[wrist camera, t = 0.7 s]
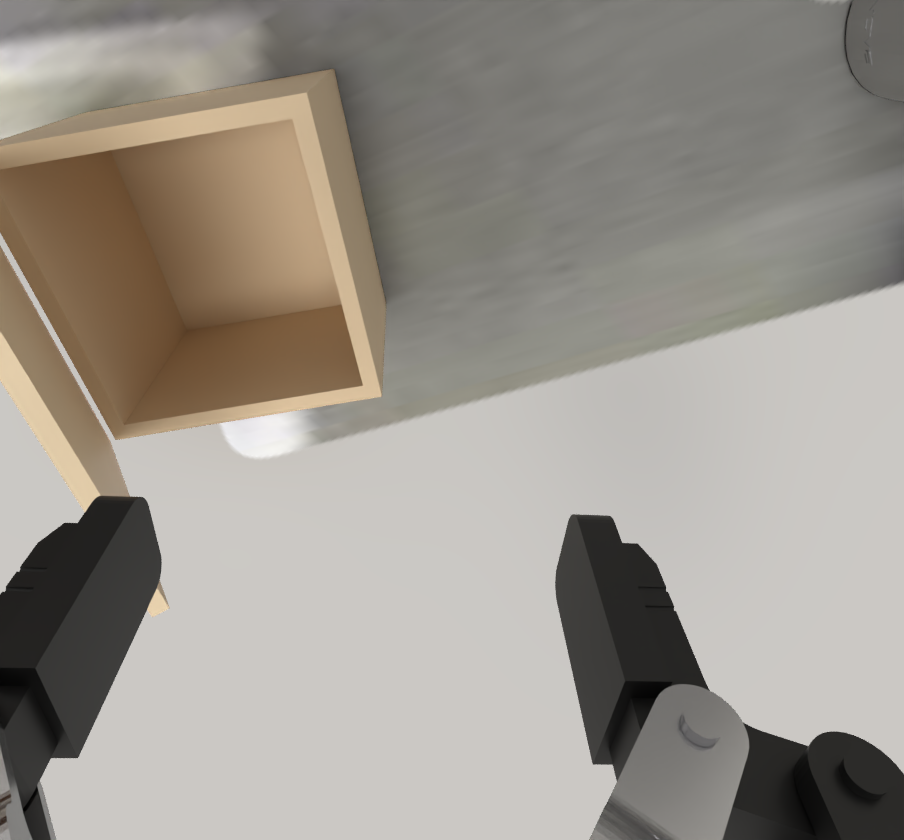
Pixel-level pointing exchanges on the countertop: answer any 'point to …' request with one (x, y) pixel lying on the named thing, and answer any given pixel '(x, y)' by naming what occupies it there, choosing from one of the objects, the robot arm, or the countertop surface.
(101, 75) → the countertop surface
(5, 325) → the lid flap
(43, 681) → the robot arm
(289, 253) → the carton
